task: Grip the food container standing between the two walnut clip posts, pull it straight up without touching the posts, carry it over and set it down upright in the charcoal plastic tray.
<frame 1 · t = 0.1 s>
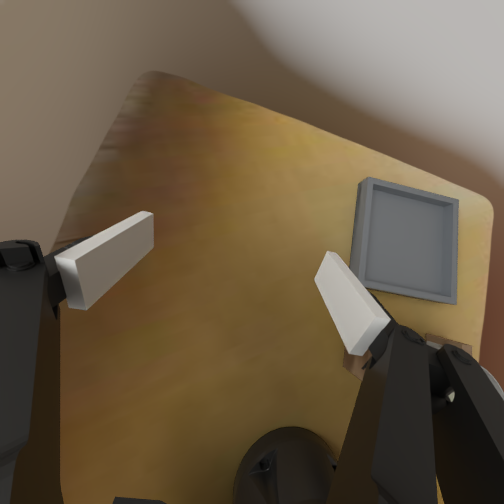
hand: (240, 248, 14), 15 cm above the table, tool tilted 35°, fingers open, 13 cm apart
tray: (398, 242, 33), on the table
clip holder: (390, 350, 31), on the table
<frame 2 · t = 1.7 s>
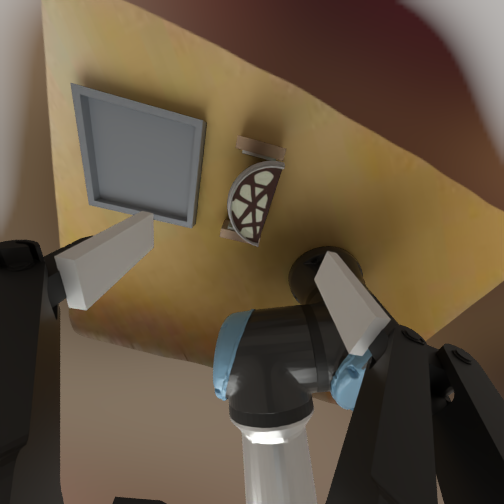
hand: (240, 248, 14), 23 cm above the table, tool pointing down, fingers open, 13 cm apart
tray: (148, 165, 33), on the table
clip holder: (250, 191, 34), on the table
food container: (250, 191, 35), on the table
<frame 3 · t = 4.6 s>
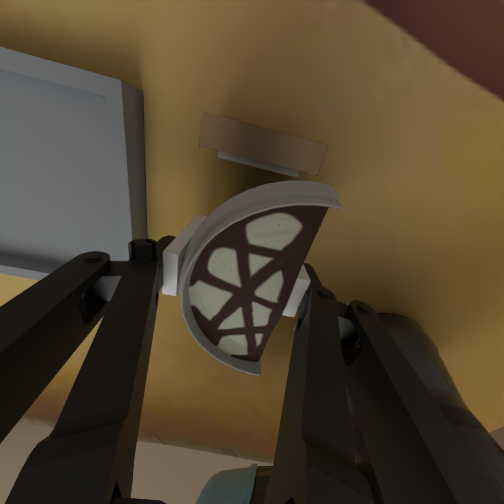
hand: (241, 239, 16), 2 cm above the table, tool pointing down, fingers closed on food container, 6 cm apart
tray: (39, 184, 17), on the table
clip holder: (243, 229, 18), on the table
food container: (243, 228, 18), on the table, touching gripper
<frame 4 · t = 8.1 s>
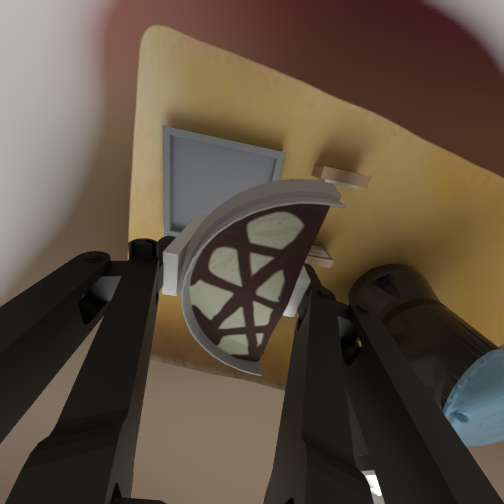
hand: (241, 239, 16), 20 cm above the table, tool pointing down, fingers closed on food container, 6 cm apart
tray: (221, 195, 34), on the table
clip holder: (318, 214, 35), on the table
food container: (243, 227, 18), point 17 cm above the table, touching gripper
when the fingers open (5 cm above the table, at t = 11.9 s): food container drops 1 cm, resting on tray.
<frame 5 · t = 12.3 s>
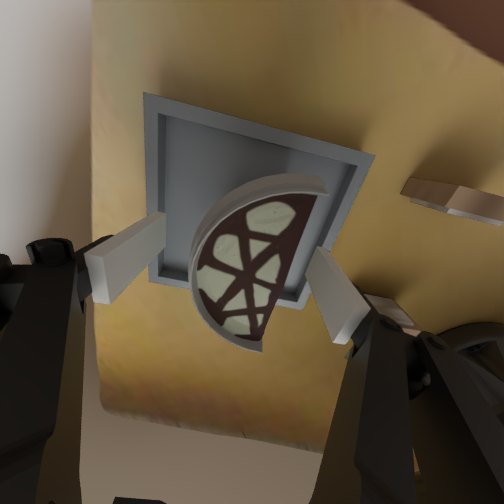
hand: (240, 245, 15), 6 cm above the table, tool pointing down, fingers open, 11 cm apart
tray: (244, 220, 20), on the table
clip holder: (396, 254, 22), on the table
food container: (243, 222, 20), point 1 cm above the table, touching tray
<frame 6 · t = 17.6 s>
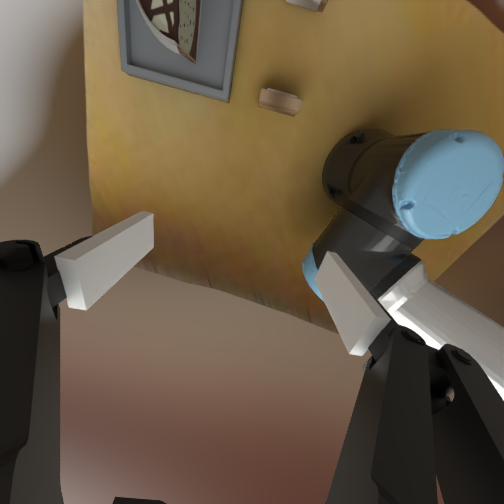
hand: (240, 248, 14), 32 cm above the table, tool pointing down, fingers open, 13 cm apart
tray: (183, 24, 31), on the table
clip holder: (288, 57, 33), on the table
food container: (181, 20, 30), point 1 cm above the table, touching tray
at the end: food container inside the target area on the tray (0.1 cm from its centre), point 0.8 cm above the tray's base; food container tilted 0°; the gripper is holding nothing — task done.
